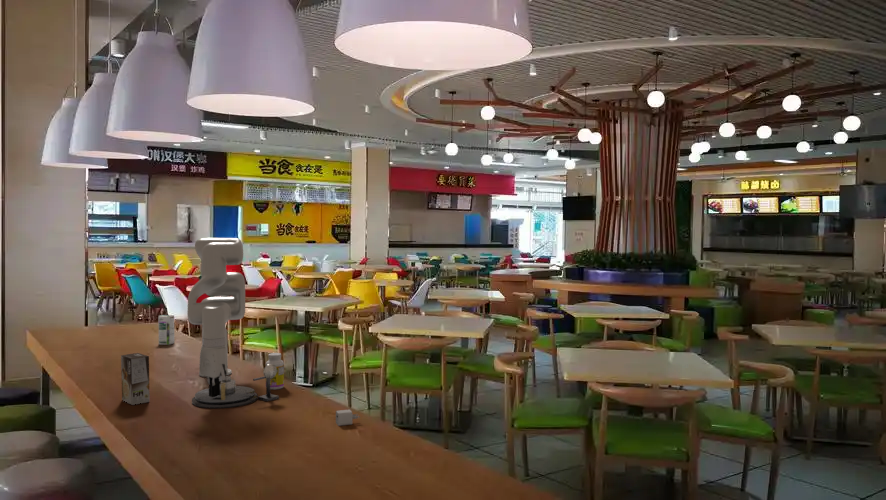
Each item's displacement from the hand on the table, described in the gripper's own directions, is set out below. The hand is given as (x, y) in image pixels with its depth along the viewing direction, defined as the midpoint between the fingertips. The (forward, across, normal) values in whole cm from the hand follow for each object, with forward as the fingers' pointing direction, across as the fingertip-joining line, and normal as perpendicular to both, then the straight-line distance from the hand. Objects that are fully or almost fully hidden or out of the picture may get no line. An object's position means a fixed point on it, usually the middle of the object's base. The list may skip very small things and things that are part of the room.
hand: (214, 395), depth 233 cm
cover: (+1, -4, +8) cm, 8 cm away
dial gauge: (+3, +7, +15) cm, 17 cm away
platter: (+2, -4, +7) cm, 8 cm away
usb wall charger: (+3, +50, +14) cm, 52 cm away
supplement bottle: (+4, -4, +29) cm, 29 cm away
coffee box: (+4, -26, -13) cm, 30 cm away
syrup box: (+6, -119, +54) cm, 131 cm away
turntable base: (+4, -4, +7) cm, 8 cm away
